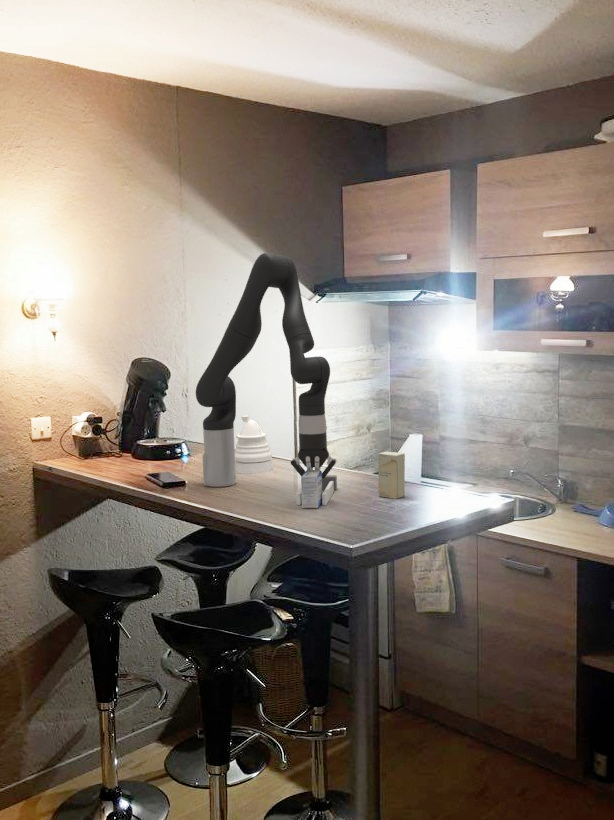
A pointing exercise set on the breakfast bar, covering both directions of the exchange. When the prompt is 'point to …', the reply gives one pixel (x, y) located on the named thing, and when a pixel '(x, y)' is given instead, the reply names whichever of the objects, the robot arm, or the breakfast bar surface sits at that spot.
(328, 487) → the channel
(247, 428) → the honey pot
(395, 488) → the skincare box
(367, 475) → the breakfast bar surface
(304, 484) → the medicine box
